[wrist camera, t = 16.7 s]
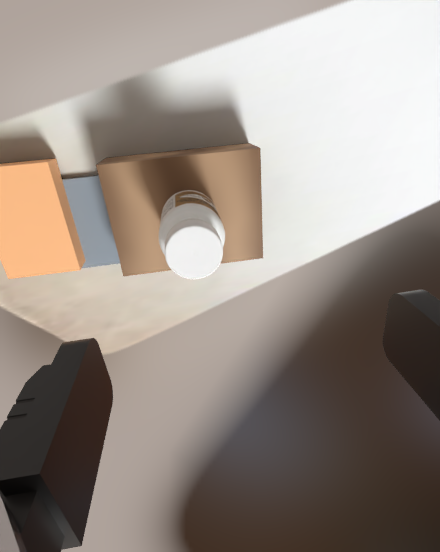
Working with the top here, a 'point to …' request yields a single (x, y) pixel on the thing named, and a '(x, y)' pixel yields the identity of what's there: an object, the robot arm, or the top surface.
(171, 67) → the top surface
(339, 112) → the top surface
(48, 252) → the thin peach tile
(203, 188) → the block
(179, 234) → the pill bottle
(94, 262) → the mat
